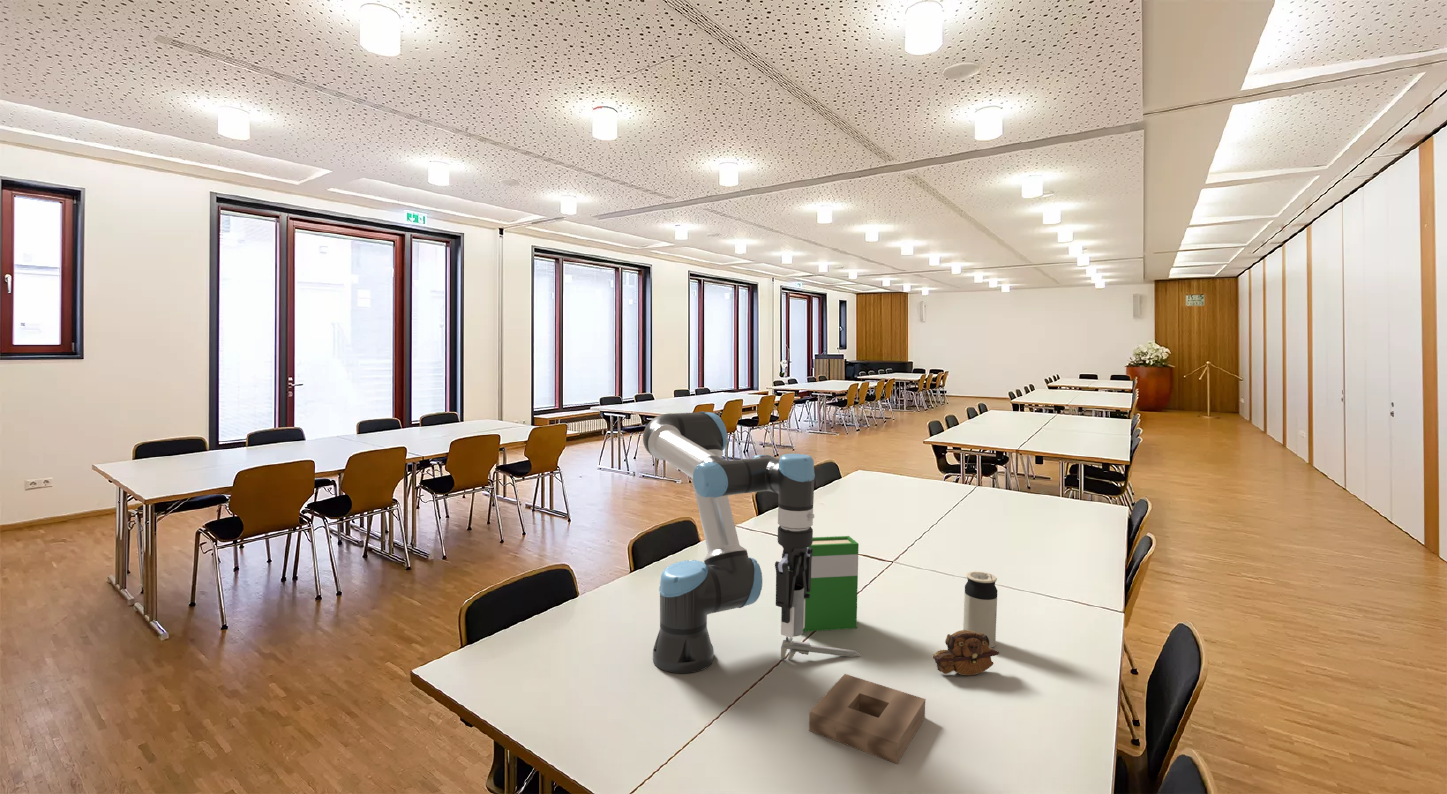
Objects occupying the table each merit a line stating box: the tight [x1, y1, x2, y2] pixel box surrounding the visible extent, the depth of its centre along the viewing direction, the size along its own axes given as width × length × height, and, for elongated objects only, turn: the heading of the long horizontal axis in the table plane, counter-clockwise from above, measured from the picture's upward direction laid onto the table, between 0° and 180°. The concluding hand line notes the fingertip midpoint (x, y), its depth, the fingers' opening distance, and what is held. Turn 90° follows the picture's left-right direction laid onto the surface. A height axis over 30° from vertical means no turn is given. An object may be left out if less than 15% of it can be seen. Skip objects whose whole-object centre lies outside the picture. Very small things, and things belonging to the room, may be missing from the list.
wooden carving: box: [932, 629, 1000, 676], centre depth 148 cm, size 16×5×10 cm, turn 105°
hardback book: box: [789, 535, 860, 633], centre depth 174 cm, size 18×7×24 cm, turn 99°
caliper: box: [780, 636, 861, 662], centre depth 155 cm, size 20×1×6 cm, turn 99°
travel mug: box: [962, 570, 998, 648], centre depth 164 cm, size 8×8×18 cm
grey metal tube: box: [792, 583, 804, 638], centre depth 135 cm, size 4×4×10 cm
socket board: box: [808, 673, 926, 764], centre depth 127 cm, size 18×18×4 cm
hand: (792, 630), depth 135 cm, fingers closed on grey metal tube, 4 cm apart
